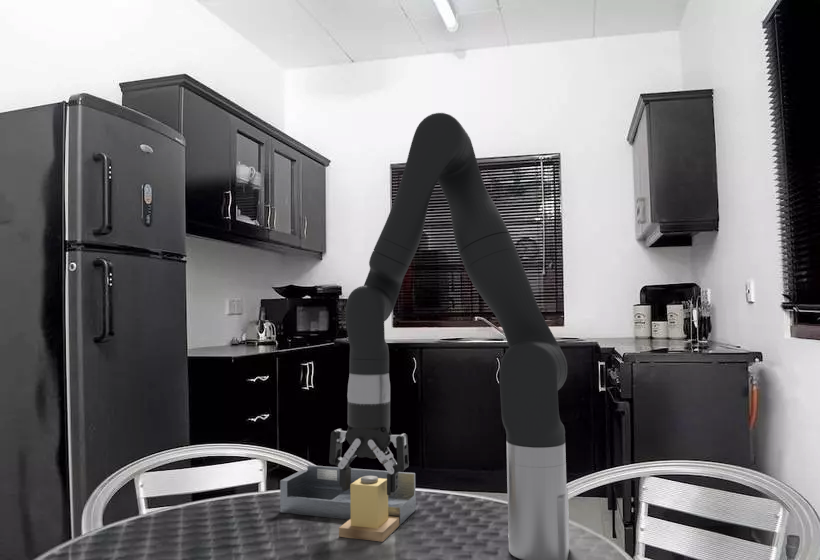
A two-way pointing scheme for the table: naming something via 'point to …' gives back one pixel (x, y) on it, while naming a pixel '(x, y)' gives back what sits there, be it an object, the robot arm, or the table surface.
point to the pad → (369, 530)
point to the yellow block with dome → (369, 502)
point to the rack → (339, 493)
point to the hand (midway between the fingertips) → (368, 491)
